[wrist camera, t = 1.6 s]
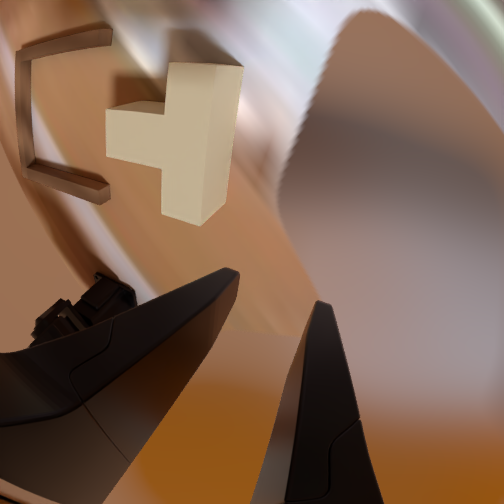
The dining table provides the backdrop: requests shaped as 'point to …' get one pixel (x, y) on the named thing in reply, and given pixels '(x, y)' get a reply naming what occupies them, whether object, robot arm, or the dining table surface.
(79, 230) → the dining table surface
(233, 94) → the T block
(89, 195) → the frame
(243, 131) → the dining table surface
